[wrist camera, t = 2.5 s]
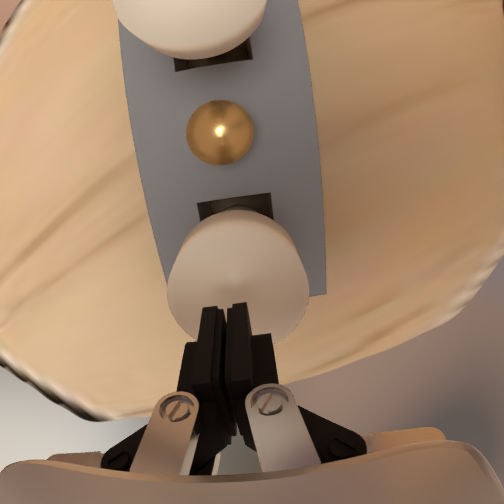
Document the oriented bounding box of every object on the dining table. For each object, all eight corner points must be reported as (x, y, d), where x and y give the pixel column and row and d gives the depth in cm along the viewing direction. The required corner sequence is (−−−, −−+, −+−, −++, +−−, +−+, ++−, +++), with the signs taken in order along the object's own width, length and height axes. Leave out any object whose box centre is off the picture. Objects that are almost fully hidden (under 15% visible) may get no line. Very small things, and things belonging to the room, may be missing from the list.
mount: (278, -15, 19) (287, -46, 13) (311, 261, 29) (326, 294, 24) (140, 7, 19) (116, -16, 14) (186, 277, 30) (175, 313, 24)
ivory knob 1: (252, -12, 15) (259, -82, 7) (265, 69, 18) (283, 33, 9) (158, 4, 15) (111, -53, 7) (167, 85, 18) (117, 63, 10)
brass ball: (247, 99, 18) (249, 95, 15) (255, 153, 20) (257, 160, 16) (191, 108, 18) (181, 106, 15) (199, 162, 20) (191, 170, 16)
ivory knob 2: (279, 179, 21) (304, 221, 12) (287, 264, 23) (311, 342, 15) (185, 192, 21) (150, 242, 13) (203, 275, 23) (186, 357, 15)
